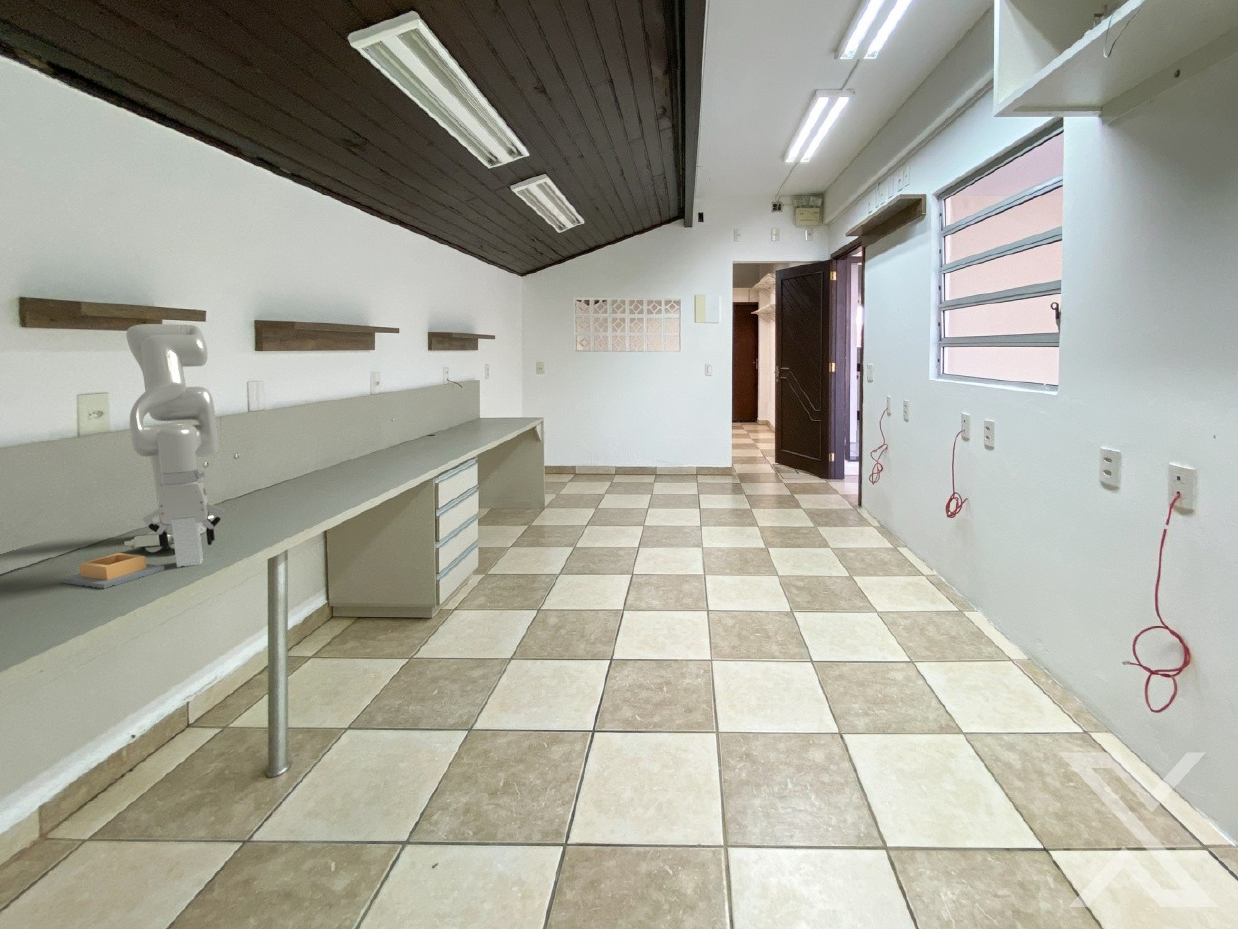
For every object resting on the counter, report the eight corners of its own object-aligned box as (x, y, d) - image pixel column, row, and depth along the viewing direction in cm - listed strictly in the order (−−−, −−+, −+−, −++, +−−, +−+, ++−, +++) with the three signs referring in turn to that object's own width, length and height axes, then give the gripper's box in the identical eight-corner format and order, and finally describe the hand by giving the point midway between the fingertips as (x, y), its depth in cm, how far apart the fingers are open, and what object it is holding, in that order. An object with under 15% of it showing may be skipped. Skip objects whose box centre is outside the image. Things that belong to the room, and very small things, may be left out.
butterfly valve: (118, 555, 176) (183, 549, 175) (120, 479, 179) (183, 472, 179) (143, 556, 185) (205, 550, 184) (144, 483, 188) (205, 477, 187)
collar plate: (124, 564, 169) (122, 549, 168) (164, 570, 164) (162, 554, 164) (62, 582, 156) (59, 565, 155) (104, 588, 151) (101, 571, 151)
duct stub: (203, 559, 173) (197, 512, 171) (200, 564, 168) (195, 516, 166) (180, 562, 171) (174, 514, 169) (177, 567, 166) (171, 519, 164)
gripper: (222, 472, 173) (229, 538, 176) (140, 479, 166) (149, 547, 168) (219, 477, 166) (227, 545, 169) (134, 483, 159) (143, 555, 162)
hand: (188, 546), depth 169 cm, fingers open, 9 cm apart
